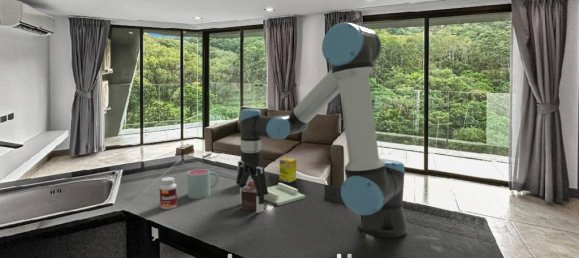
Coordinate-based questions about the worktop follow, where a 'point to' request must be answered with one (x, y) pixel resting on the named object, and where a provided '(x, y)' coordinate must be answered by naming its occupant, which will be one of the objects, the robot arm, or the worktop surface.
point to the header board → (282, 194)
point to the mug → (200, 183)
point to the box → (249, 198)
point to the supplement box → (287, 170)
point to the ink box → (250, 181)
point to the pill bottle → (168, 193)
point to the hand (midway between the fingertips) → (251, 207)
